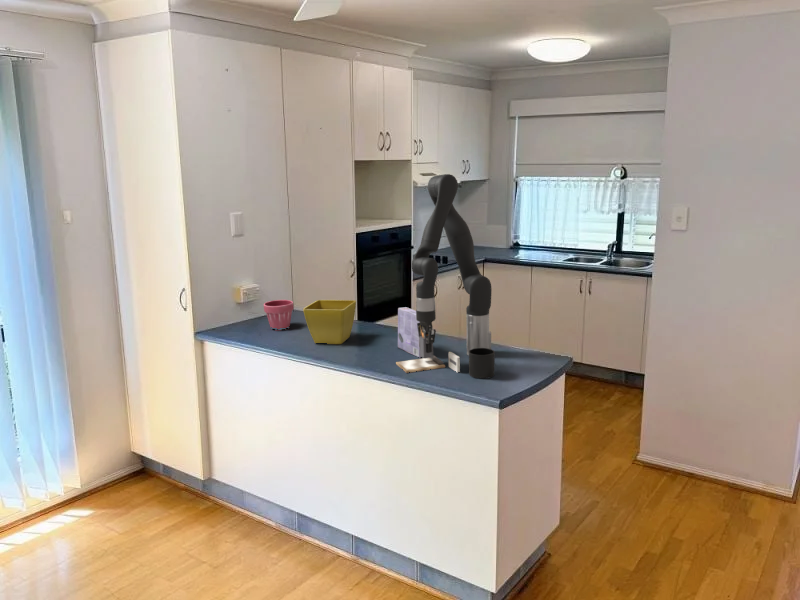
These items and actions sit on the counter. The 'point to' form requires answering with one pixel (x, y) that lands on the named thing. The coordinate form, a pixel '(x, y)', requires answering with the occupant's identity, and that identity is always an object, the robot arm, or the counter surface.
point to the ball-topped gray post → (424, 348)
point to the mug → (481, 363)
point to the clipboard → (421, 364)
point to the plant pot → (279, 313)
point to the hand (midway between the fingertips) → (426, 350)
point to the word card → (454, 362)
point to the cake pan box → (408, 331)
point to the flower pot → (330, 320)
